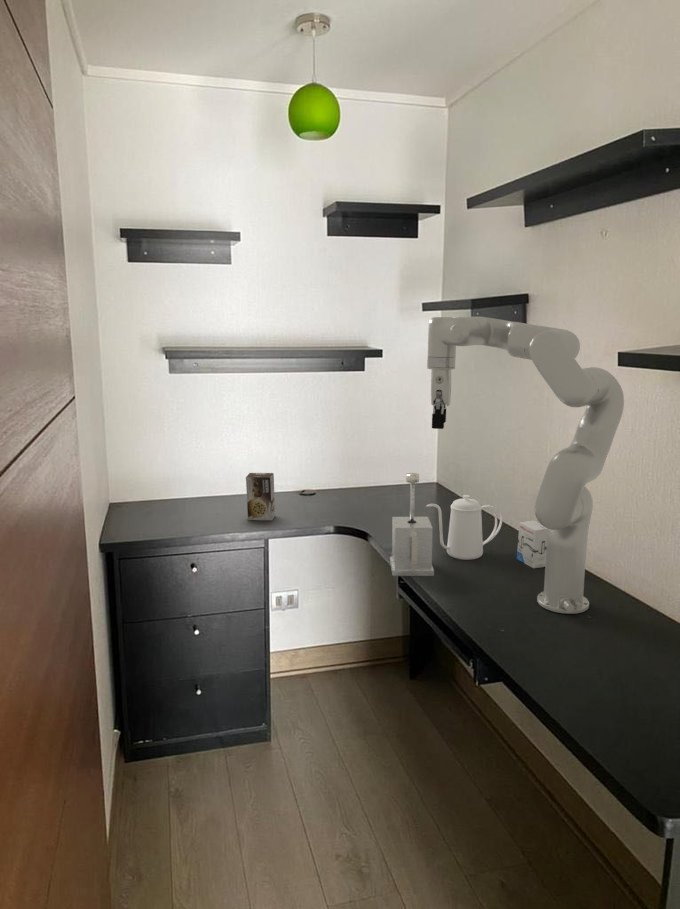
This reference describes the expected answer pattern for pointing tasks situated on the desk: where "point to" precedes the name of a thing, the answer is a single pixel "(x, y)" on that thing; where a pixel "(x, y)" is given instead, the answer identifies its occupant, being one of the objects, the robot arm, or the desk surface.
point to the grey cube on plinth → (411, 547)
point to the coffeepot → (466, 528)
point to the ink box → (532, 544)
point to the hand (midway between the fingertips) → (438, 425)
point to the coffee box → (260, 496)
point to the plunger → (412, 492)
